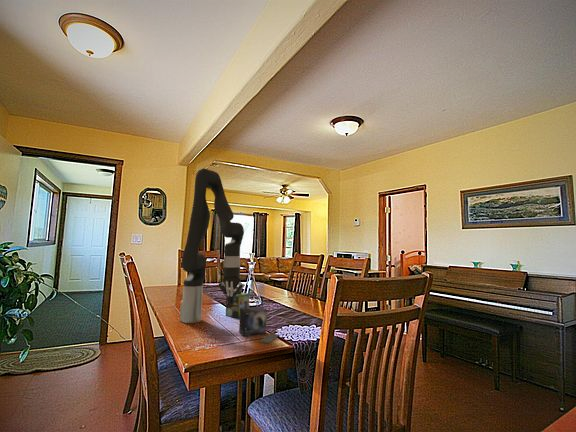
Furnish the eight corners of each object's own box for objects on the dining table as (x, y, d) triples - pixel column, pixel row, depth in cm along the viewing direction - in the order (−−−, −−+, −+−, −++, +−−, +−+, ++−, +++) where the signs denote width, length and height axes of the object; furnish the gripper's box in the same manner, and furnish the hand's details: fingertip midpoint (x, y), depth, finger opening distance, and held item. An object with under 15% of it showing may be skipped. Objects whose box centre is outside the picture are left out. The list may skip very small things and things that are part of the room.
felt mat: (259, 342, 123) (259, 340, 123) (270, 334, 133) (270, 333, 133) (269, 343, 122) (269, 342, 122) (279, 335, 132) (279, 334, 132)
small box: (243, 337, 129) (244, 311, 130) (238, 332, 135) (239, 308, 135) (266, 334, 134) (267, 309, 134) (260, 330, 139) (261, 306, 140)
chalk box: (249, 315, 165) (250, 287, 166) (238, 318, 158) (239, 289, 159) (236, 312, 170) (237, 285, 171) (224, 315, 163) (226, 287, 164)
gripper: (248, 265, 142) (247, 304, 141) (223, 264, 146) (222, 301, 145) (241, 267, 135) (240, 307, 134) (214, 266, 139) (213, 305, 138)
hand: (230, 304), depth 139 cm, fingers closed
